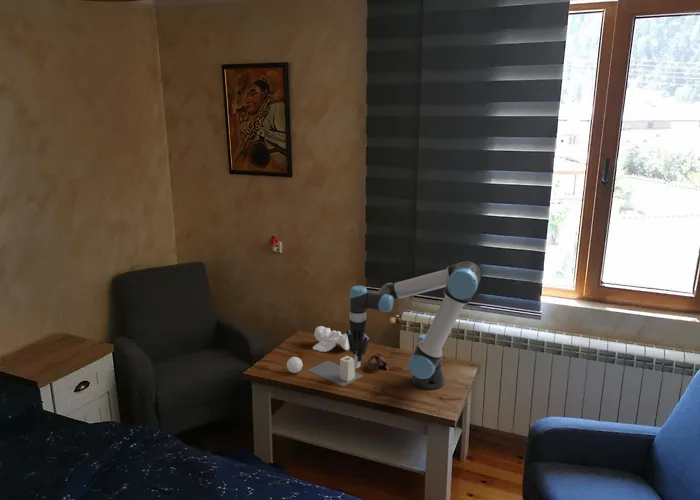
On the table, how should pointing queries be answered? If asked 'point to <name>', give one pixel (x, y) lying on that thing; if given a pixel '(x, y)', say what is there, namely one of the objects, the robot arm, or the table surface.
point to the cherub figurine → (329, 339)
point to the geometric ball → (294, 364)
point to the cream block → (347, 368)
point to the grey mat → (332, 373)
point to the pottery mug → (379, 360)
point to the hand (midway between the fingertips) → (357, 366)
